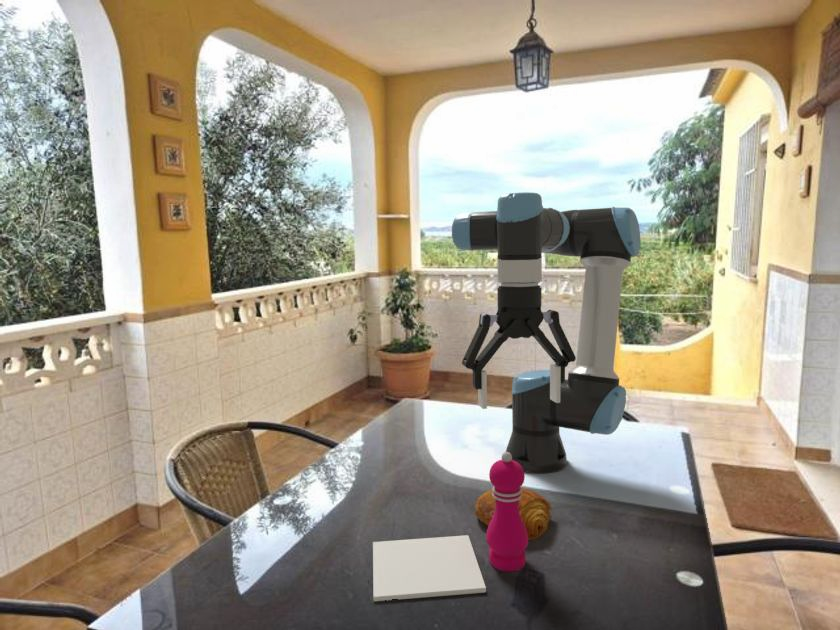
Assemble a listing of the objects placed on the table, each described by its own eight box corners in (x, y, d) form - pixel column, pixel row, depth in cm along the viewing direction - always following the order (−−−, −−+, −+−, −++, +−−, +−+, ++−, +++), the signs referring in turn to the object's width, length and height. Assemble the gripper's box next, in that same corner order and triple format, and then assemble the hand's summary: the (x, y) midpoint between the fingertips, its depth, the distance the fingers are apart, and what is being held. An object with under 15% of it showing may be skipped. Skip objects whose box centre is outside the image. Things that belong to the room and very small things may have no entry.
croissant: (512, 561, 100) (515, 523, 97) (462, 515, 112) (463, 481, 110) (568, 535, 107) (572, 500, 105) (515, 495, 120) (517, 463, 118)
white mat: (468, 539, 103) (468, 535, 103) (486, 592, 87) (485, 587, 87) (373, 546, 102) (372, 542, 101) (373, 601, 86) (373, 596, 86)
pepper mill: (482, 551, 99) (481, 445, 96) (521, 548, 100) (521, 443, 97) (491, 575, 92) (490, 461, 89) (533, 571, 92) (533, 459, 90)
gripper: (576, 280, 100) (574, 393, 103) (444, 285, 95) (446, 403, 98) (596, 283, 93) (594, 404, 95) (454, 288, 88) (456, 415, 91)
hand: (519, 403), depth 97 cm, fingers open, 13 cm apart
